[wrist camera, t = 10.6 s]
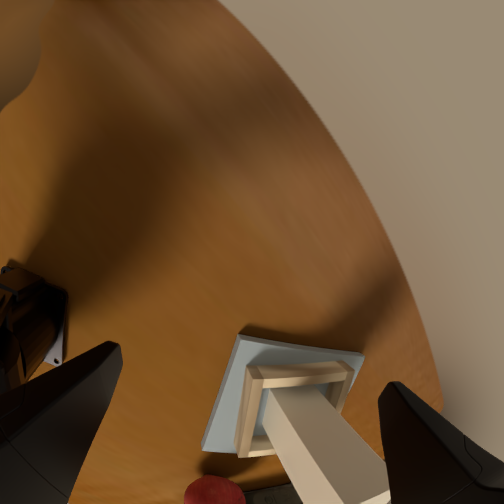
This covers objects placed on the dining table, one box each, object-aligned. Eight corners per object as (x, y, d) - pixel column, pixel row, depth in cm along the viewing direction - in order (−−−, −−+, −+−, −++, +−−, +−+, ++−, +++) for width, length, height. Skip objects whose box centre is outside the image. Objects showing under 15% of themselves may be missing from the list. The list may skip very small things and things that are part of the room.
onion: (241, 461, 22) (264, 519, 14) (230, 488, 22) (247, 540, 14) (184, 458, 20) (194, 522, 12) (178, 486, 20) (187, 542, 13)
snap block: (262, 423, 20) (323, 536, 8) (269, 388, 20) (347, 508, 8) (303, 418, 21) (376, 515, 9) (313, 384, 21) (404, 482, 9)
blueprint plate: (311, 445, 24) (315, 451, 23) (200, 443, 20) (202, 450, 19) (359, 352, 23) (365, 356, 22) (237, 333, 20) (240, 339, 19)
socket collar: (233, 442, 20) (238, 457, 18) (245, 365, 19) (252, 379, 17) (319, 432, 22) (327, 444, 20) (342, 360, 21) (355, 370, 19)
